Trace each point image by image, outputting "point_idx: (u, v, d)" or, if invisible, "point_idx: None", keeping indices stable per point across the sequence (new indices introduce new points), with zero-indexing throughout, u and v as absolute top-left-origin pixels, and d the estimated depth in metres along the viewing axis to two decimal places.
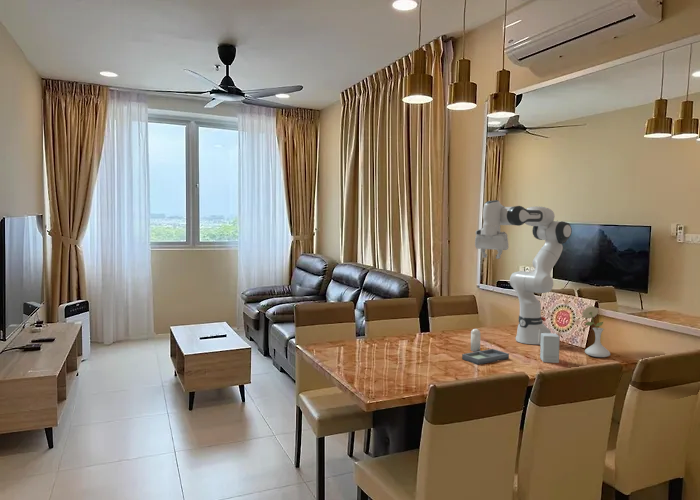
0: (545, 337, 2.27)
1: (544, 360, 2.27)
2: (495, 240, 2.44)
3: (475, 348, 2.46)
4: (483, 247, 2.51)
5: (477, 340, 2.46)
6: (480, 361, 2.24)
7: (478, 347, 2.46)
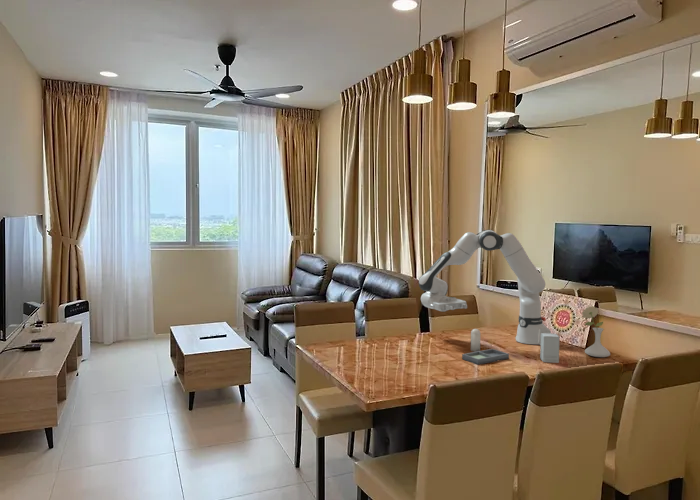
0: (545, 337, 2.27)
1: (544, 360, 2.27)
2: None
3: (475, 348, 2.46)
4: (457, 308, 2.64)
5: (477, 340, 2.46)
6: (480, 361, 2.24)
7: (478, 347, 2.46)
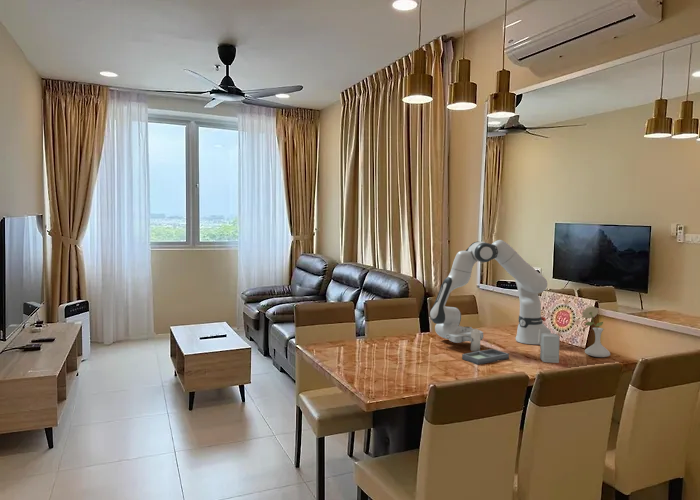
0: (545, 337, 2.27)
1: (544, 360, 2.27)
2: None
3: (475, 348, 2.46)
4: None
5: (477, 340, 2.46)
6: (480, 361, 2.24)
7: (478, 347, 2.46)
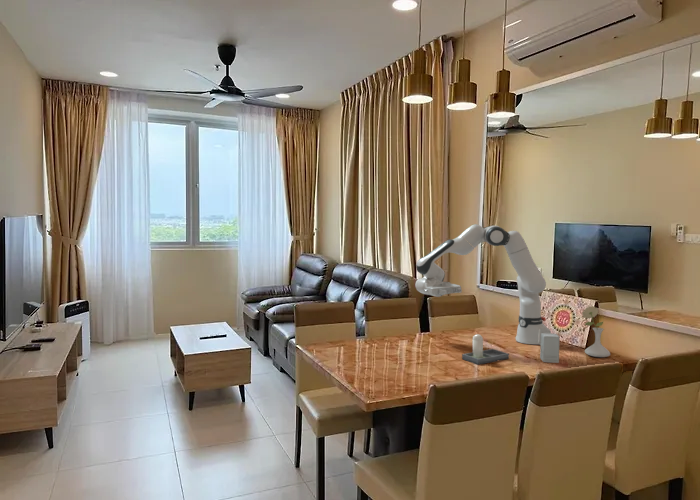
0: (545, 337, 2.27)
1: (544, 360, 2.27)
2: None
3: (478, 355, 2.28)
4: None
5: (480, 346, 2.28)
6: (480, 361, 2.24)
7: (481, 354, 2.28)
